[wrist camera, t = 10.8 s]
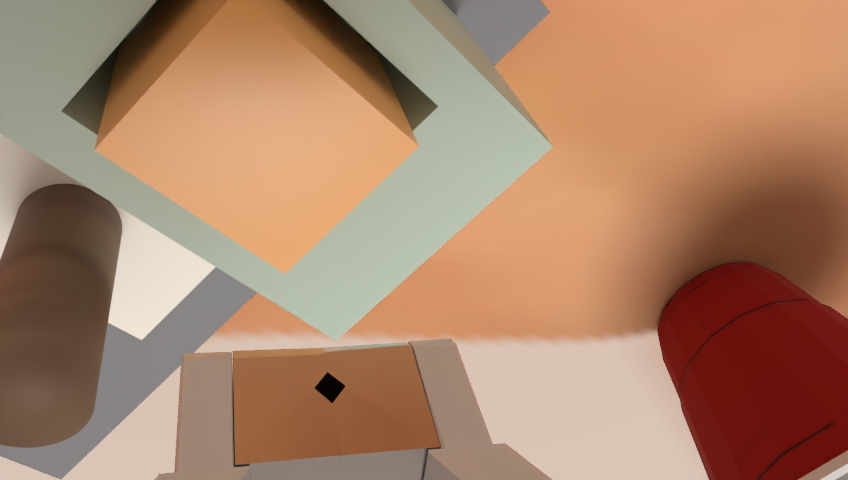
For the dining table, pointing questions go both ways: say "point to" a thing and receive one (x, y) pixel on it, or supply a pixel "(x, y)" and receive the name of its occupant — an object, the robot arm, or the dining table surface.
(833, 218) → the dining table surface
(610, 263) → the dining table surface
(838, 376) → the plastic cup
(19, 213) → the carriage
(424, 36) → the rail board
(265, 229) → the orange cube
